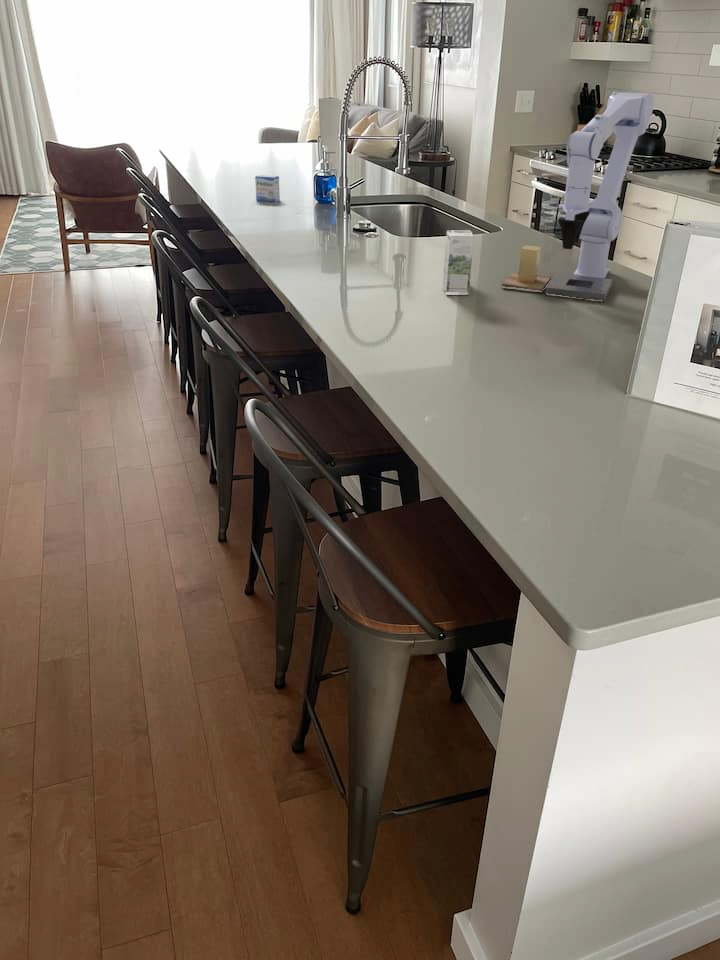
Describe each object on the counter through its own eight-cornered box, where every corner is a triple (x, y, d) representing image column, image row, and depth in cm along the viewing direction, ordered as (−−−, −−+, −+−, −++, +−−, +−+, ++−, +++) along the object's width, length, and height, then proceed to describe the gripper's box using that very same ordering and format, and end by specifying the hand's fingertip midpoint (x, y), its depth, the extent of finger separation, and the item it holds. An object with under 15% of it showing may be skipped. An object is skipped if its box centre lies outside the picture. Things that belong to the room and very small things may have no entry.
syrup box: (465, 289, 195) (470, 229, 188) (469, 296, 190) (474, 234, 183) (442, 289, 195) (446, 229, 188) (445, 296, 190) (449, 234, 182)
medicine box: (255, 200, 293) (254, 176, 289) (260, 198, 297) (259, 174, 293) (275, 202, 291) (274, 177, 287) (280, 200, 295) (279, 175, 291)
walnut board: (512, 276, 205) (512, 272, 205) (550, 281, 202) (551, 276, 201) (501, 288, 196) (502, 283, 195) (541, 293, 192) (542, 288, 192)
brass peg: (521, 277, 200) (524, 245, 197) (536, 279, 199) (540, 246, 195) (517, 281, 197) (521, 248, 193) (533, 283, 196) (537, 250, 192)
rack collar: (555, 281, 202) (556, 273, 201) (611, 287, 198) (612, 279, 197) (544, 295, 191) (545, 287, 190) (604, 302, 186) (605, 294, 185)
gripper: (567, 180, 193) (559, 237, 199) (555, 190, 181) (548, 250, 188) (596, 182, 190) (587, 240, 197) (586, 192, 179) (578, 253, 185)
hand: (570, 245), depth 192 cm, fingers open, 7 cm apart
